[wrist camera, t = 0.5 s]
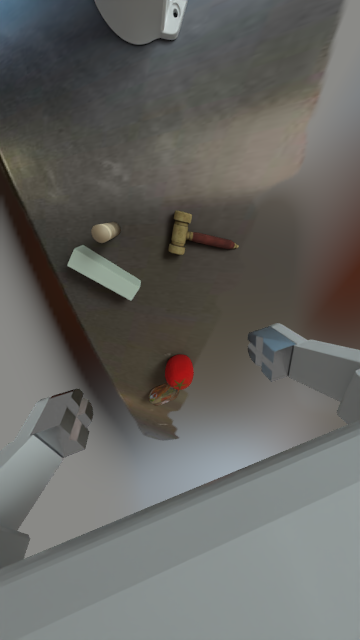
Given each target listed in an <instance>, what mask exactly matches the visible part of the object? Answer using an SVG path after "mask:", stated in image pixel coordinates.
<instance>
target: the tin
mask: <svg viewBox="0 0 360 640" xmlns="http://www.w3.org/2000/svg"><path fill="white" fill-rule="evenodd" d="M178 394H179V390H178V389H174V388H171V386H170V385H169V384H168V383H165V384H162V385H160V386H157V387H155V388H153V389H152V390H151V392H150V394H149V401H150V402H151V403H152V404H153V405H155V406H158V405H161V404H164V403H166V402H169V401H172V400H174V399H175V398H176V397H177V396H178Z"/></svg>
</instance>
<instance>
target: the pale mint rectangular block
mask: <svg viewBox="0 0 360 640" xmlns="http://www.w3.org/2000/svg"><path fill="white" fill-rule="evenodd" d="M67 266H69V267H71V268H72V269H74V270H76V271H78V272H80V273H81V274H83V275H85V276H87V277H89V278H91V279H92V280H94V281H96V282H98V283H100V284H101V285H103V286H105V287H107V288H109V289H111V290H112V291H114V292H116V293H118V294H120V295H122V296H123V297H125V298H127V299H129V300H132V299H133V297H134V296H135V294H136V293H137V291H138V290H139V288H140V284H141V280H139V279H137V278H136V277H134V276H133V275H131V274H129V273H128V272H126V271H124V270H123V269H121V268H120V267H118V266H116V265H115V264H113V263H112V262H110V261H108V260H107V259H105V258H103V257H102V256H100V255H99V254H97V253H95V252H94V251H92V250H90V249H89V248H87V247H86V246H84V245H82V246H79V247H77V248H75V249H74V251H73V253H72V255H71V258H70V260H69V262H68V265H67Z"/></svg>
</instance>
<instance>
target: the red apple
mask: <svg viewBox="0 0 360 640" xmlns="http://www.w3.org/2000/svg"><path fill="white" fill-rule="evenodd" d="M193 373H194V372H193V365H192V362H191V360H190V359H189V358H188V356H186V355H181V354H180V355H175V356H173V357H171V358H170V359H169V361H168V362H167V365H166V369H165V377H166V380H167V382H168V384H169V385H170V386H171V388H174V389H178V390H181V389H185V388H187V387H188V386H189V385H190V384H191V382H192V379H193Z"/></svg>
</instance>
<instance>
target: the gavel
mask: <svg viewBox="0 0 360 640" xmlns="http://www.w3.org/2000/svg"><path fill="white" fill-rule="evenodd" d="M191 218H192V215H191V214H188V213H185V212H180V211H175V214H174V219H175V224H174V227H173V233H172V239H171V240H172V242H171V244H169V252H171V253H174V254H179V255H183V254H184V251H185V247H184V243H185V241H186V240H191V241H193V242H196V243H201V244H206V245H210V246H215V247H220V248H224V249H234V248H238V247H239V246H238V245H236V243H234V242H232V241H231V240H227V239H223V238H219V237H214V236H210V235H206V234H202V233H197V232H189V231H188V224H189V223H191Z"/></svg>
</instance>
